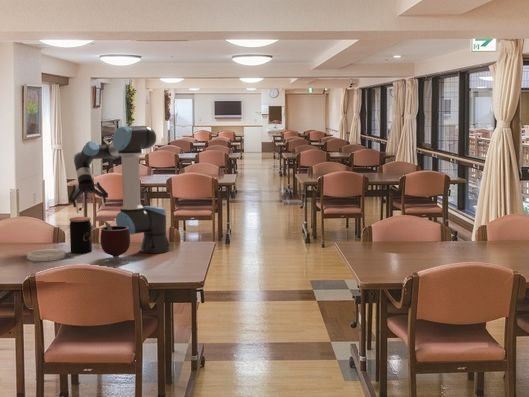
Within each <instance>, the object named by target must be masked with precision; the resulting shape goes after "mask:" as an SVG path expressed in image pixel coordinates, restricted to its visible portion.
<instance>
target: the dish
mask: <svg viewBox="0 0 529 397" xmlns="http://www.w3.org/2000/svg"><path fill="white" fill-rule="evenodd" d="M26 255H27V259H29V260H32V261H51V260H58V259H62V258H65V256H66V255H67V252H66V250H63V249H57V248H56V249H55V248H53V249H52V248H50V249H46V248H45V249H37V250H32V251H29V252H27V254H26ZM58 261H59V260H58ZM51 262H52V261H51Z"/></svg>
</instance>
